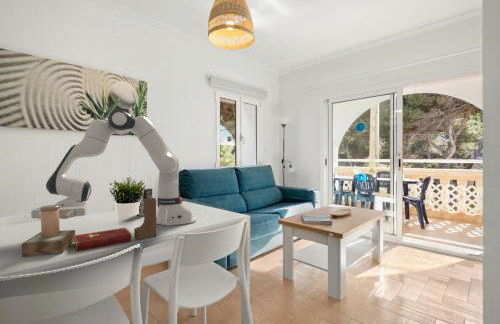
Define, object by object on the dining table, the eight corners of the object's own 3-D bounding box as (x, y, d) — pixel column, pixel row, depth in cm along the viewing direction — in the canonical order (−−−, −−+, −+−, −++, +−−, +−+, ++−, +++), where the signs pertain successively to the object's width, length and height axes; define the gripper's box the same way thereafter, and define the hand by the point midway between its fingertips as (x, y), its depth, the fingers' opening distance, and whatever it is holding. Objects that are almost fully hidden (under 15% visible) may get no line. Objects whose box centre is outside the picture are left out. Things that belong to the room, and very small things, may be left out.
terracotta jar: (62, 232, 112) (62, 204, 112) (56, 237, 106) (55, 207, 106) (45, 233, 111) (44, 205, 110) (37, 238, 105) (36, 208, 104)
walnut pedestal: (75, 240, 118) (75, 229, 118) (61, 253, 103) (61, 240, 103) (40, 243, 114) (40, 231, 114) (22, 256, 100) (21, 243, 99)
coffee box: (144, 216, 163) (144, 190, 163) (135, 215, 164) (135, 190, 164) (152, 212, 172) (152, 188, 171) (144, 212, 173) (143, 188, 173)
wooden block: (136, 240, 119) (136, 200, 118) (134, 237, 123) (133, 199, 122) (156, 236, 125) (156, 198, 124) (153, 234, 128) (153, 197, 128)
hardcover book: (131, 242, 118) (131, 233, 118) (75, 253, 105) (75, 242, 105) (125, 235, 127) (125, 226, 127) (73, 244, 115) (73, 234, 115)
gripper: (39, 203, 121) (23, 209, 107) (89, 201, 127) (80, 207, 113) (39, 216, 121) (23, 225, 108) (90, 214, 127) (80, 221, 114)
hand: (53, 215), depth 111 cm, fingers open, 8 cm apart
